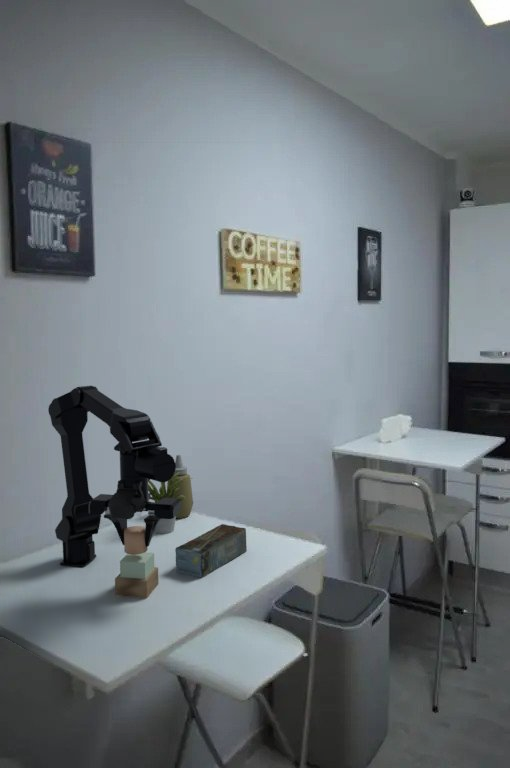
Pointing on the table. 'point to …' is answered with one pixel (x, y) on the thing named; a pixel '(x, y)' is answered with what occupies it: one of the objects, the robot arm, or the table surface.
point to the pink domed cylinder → (134, 540)
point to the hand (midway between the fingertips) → (135, 545)
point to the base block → (136, 585)
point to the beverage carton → (210, 550)
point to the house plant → (165, 524)
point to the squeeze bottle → (182, 488)
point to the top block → (137, 565)
